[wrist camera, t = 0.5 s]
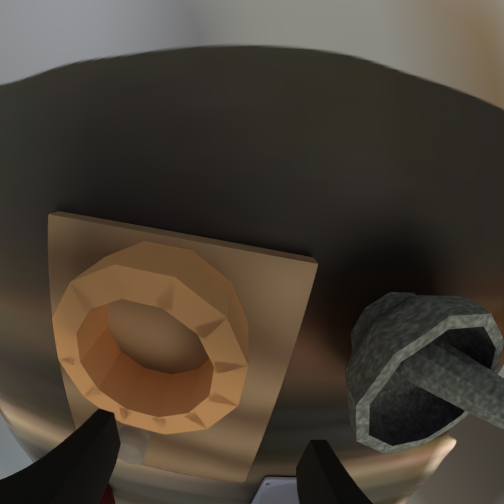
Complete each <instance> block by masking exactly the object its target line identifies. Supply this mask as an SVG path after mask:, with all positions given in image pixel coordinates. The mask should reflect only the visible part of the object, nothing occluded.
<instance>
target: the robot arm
mask: <svg viewBox="0 0 504 504" xmlns="http://www.w3.org/2000/svg"><path fill="white" fill-rule="evenodd" d="M120 445H121V442H120V438H119V433H118V429H117V424H116V419H115V415H114V413H113V412H110V411H106V410H103V409H100V408H99V409H97V410H96V411H95V412H94V413H93V414H92V415H91V416H90V417H89V418H88V419H87V420H86V421H85V422H84V423H83V424H82V425H81V426H80V427H79V428H78V429H77V430H76V431H74V432H73V433H72V434H71V435H70V436H69V437H68V438H66V439H65V440H64V441H63V442H62V443H61V444H59V445H58V446H57V447H56V448H54V449H53V450H52V451H50V452H49V453H48V454H46V455H45V456H44V457H42V458H41V459H39V460H38V461H36V462H35V463H33V464H31V465H30V466H28V467H27V468H25V469H23V470H21V471H19V472H17V473H15V474H13V475H11V476H8V477H6V478H4V479H1V480H0V504H100V501H101V499H102V496H103V494H104V491H105V489H106V486H107V484H108V482H109V479H110V477H111V474H112V472H113V469H114V467H115V464H116V460H117V457H118V453H119V449H120ZM251 504H373V503H372V502H371V501H370V500H369V499H368V498H367V497H366V495H365V494H364V493H363V492H362V491H361V490H360V488H359V487H358V486H357V484H356V483H355V482H354V480H353V479H352V478H351V477H350V475H349V474H348V472H347V471H346V470H345V468H344V467H343V465H342V464H341V462H340V461H339V459H338V458H337V456H336V455H335V453H334V451H333V450H332V448H331V447H330V445H329V443H328V442H327V441H326V440H310V442H309V444H308V446H307V448H306V450H305V452H304V454H303V456H302V458H301V459H300V461H299V463H298V465H297V467H296V477H266V478H264V480H263V482H262V484H261V486H260V487H259V489H258V491H257V493H256V495H255V497H254V499H253V501H252V503H251Z"/></svg>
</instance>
